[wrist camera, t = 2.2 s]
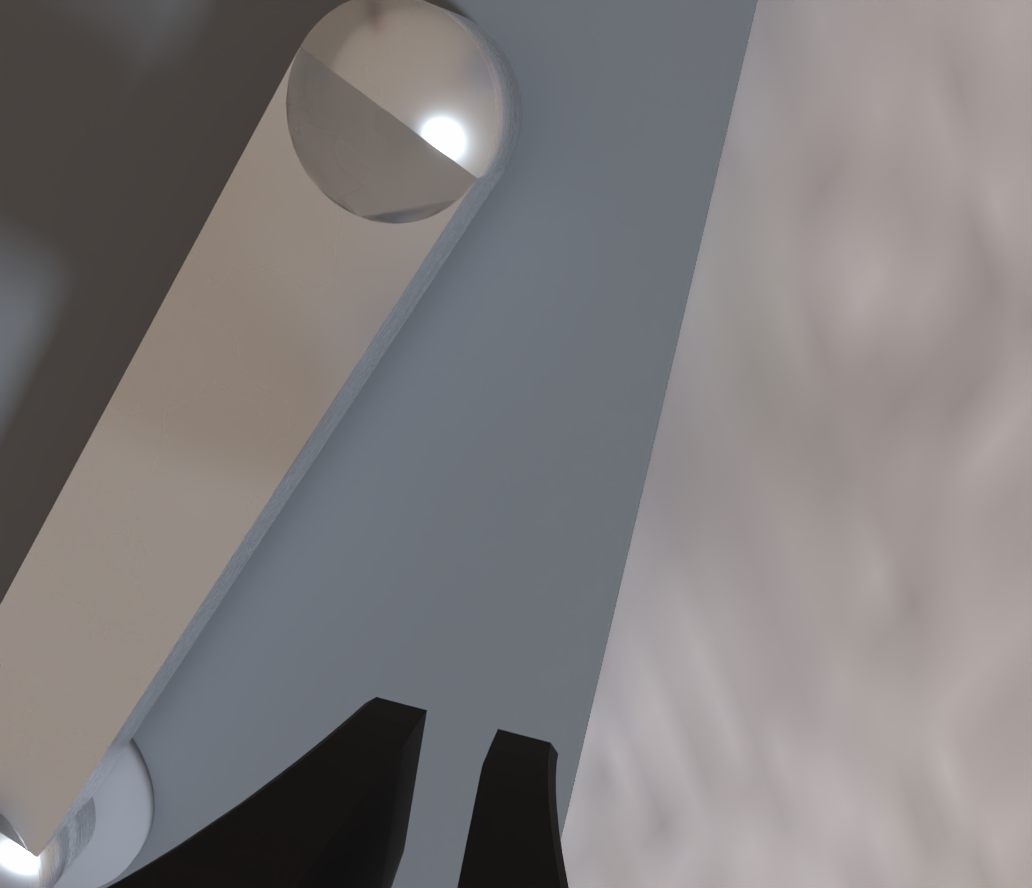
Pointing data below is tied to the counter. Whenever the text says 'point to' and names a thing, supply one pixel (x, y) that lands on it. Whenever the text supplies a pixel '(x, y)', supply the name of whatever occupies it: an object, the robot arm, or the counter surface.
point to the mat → (370, 387)
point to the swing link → (239, 390)
